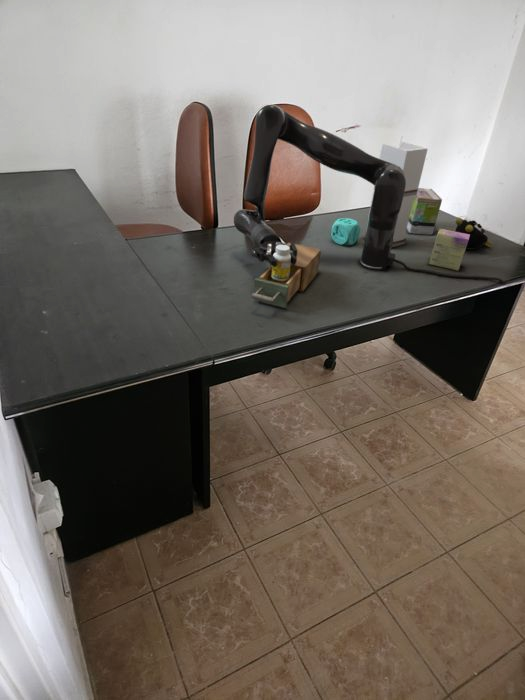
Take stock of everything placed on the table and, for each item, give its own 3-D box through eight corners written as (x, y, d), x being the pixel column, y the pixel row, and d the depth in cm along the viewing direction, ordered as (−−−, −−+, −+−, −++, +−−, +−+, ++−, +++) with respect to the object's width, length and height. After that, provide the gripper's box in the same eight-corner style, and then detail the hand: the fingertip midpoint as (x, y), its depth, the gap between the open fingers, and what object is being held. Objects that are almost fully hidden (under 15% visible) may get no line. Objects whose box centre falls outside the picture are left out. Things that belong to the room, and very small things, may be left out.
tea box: (433, 235, 194) (443, 199, 185) (408, 233, 193) (417, 197, 185) (423, 222, 206) (432, 187, 197) (400, 220, 206) (408, 186, 197)
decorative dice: (346, 247, 178) (350, 227, 174) (329, 241, 183) (332, 221, 178) (358, 242, 183) (361, 222, 179) (341, 236, 188) (344, 216, 183)
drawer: (278, 316, 133) (279, 295, 129) (245, 308, 136) (246, 287, 132) (302, 287, 148) (304, 268, 144) (272, 280, 151) (273, 260, 147)
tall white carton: (404, 243, 185) (427, 148, 164) (385, 248, 179) (406, 151, 159) (383, 233, 192) (402, 141, 172) (364, 238, 187) (382, 143, 167)
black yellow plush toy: (484, 263, 182) (492, 234, 170) (446, 255, 188) (451, 226, 176) (494, 242, 187) (501, 213, 174) (456, 234, 193) (461, 205, 181)
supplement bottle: (292, 280, 141) (295, 250, 135) (275, 282, 139) (278, 252, 133) (284, 272, 145) (287, 242, 139) (268, 274, 143) (270, 244, 137)
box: (460, 265, 171) (470, 233, 164) (458, 271, 166) (468, 239, 159) (431, 258, 174) (439, 227, 167) (428, 264, 170) (437, 233, 163)
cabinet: (302, 292, 148) (305, 267, 143) (268, 283, 151) (270, 259, 146) (317, 272, 159) (321, 249, 155) (286, 265, 163) (288, 242, 158)
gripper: (285, 248, 153) (306, 272, 141) (243, 252, 149) (260, 277, 136) (287, 226, 149) (309, 248, 136) (244, 230, 145) (262, 252, 132)
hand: (284, 262), depth 136 cm, fingers closed on supplement bottle, 5 cm apart
